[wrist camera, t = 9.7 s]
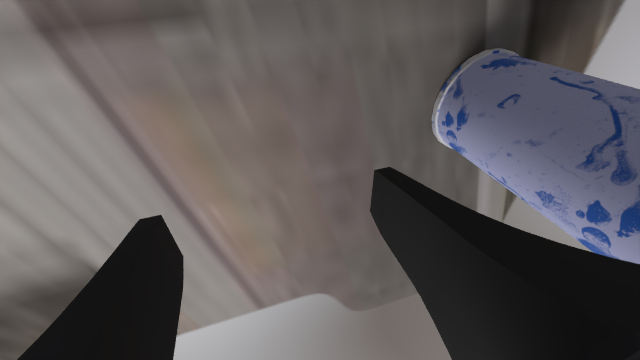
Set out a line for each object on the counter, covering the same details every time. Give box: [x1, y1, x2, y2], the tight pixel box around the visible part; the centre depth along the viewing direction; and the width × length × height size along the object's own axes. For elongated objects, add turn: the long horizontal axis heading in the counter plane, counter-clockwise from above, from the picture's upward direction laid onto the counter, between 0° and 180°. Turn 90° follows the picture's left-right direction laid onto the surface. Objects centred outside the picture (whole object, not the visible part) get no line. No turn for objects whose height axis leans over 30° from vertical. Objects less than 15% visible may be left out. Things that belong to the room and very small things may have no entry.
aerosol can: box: [431, 48, 640, 264], centre depth 14 cm, size 8×8×20 cm
